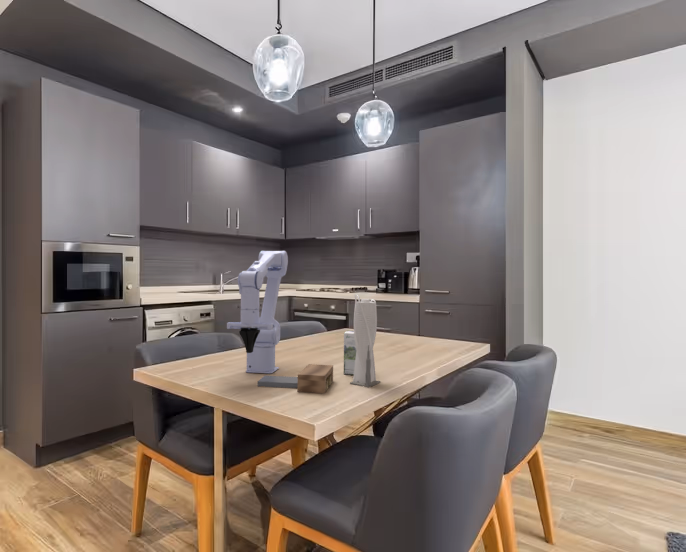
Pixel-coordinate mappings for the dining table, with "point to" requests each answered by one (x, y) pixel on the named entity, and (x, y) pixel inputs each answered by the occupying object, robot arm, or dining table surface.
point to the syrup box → (349, 352)
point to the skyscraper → (365, 342)
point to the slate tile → (279, 381)
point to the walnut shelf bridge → (315, 378)
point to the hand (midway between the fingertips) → (249, 352)
